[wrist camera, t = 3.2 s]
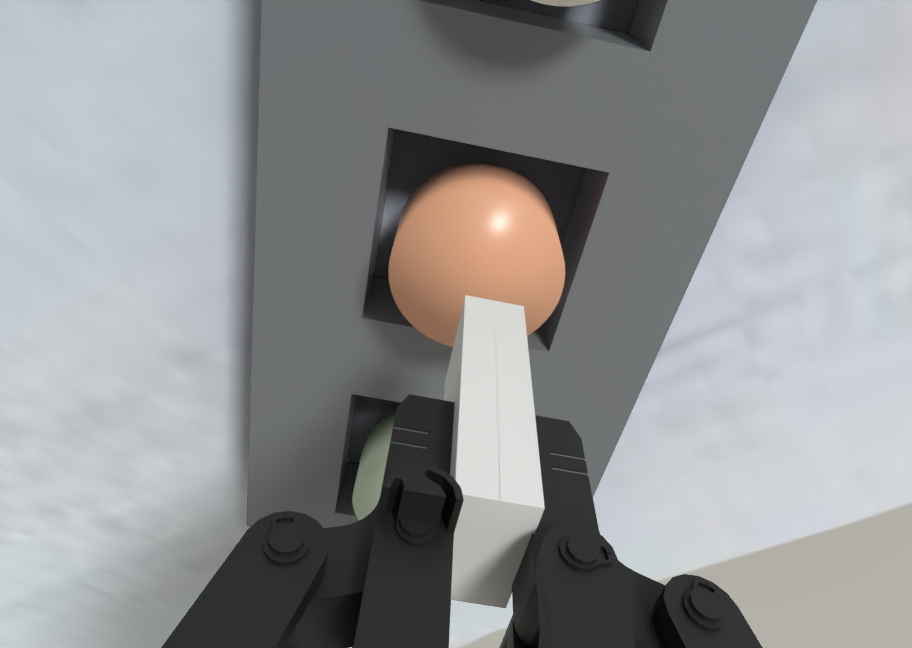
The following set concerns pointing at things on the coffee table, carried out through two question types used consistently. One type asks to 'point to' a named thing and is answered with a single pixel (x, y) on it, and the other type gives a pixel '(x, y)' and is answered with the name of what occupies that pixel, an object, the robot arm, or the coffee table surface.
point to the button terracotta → (475, 249)
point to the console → (502, 128)
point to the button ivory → (565, 2)
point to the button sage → (372, 467)
